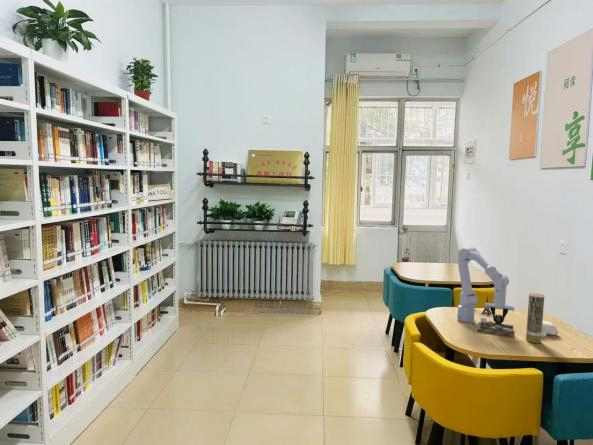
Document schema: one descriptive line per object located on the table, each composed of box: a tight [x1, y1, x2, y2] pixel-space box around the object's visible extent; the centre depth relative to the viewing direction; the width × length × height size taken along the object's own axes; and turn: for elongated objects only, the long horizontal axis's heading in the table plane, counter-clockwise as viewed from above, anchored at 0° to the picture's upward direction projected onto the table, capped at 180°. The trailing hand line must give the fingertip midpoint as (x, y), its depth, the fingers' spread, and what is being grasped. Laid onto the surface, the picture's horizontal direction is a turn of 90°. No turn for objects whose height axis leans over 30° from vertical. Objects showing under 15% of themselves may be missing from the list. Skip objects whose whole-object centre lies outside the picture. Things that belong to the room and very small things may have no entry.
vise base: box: [476, 317, 515, 339], centre depth 224 cm, size 18×14×5 cm
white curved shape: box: [541, 320, 560, 338], centre depth 220 cm, size 9×8×15 cm
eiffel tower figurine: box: [475, 294, 492, 318], centre depth 255 cm, size 15×10×13 cm
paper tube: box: [525, 292, 545, 344], centre depth 208 cm, size 7×7×25 cm
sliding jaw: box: [494, 313, 503, 329], centre depth 223 cm, size 4×8×7 cm, turn 154°
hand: (498, 321), depth 223 cm, fingers closed on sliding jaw, 3 cm apart
